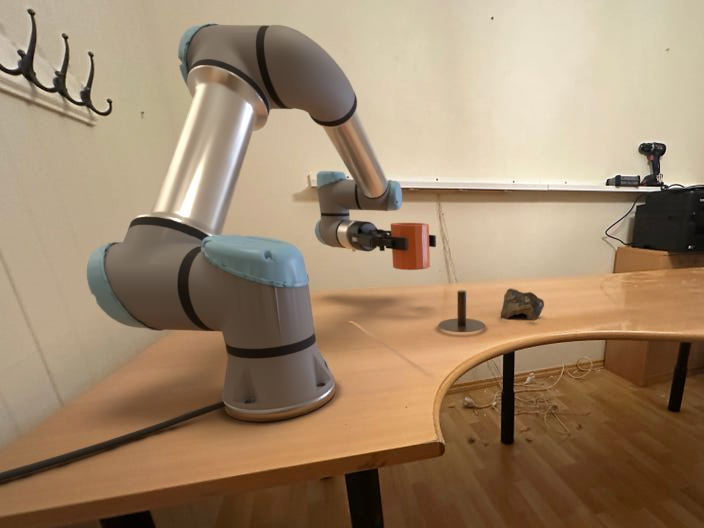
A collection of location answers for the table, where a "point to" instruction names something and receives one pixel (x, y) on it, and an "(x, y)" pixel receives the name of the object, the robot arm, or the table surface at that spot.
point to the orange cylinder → (411, 246)
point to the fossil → (521, 304)
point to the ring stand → (461, 318)
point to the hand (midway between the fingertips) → (420, 242)
